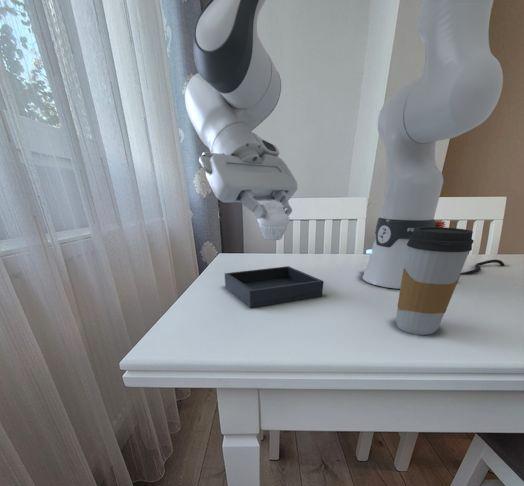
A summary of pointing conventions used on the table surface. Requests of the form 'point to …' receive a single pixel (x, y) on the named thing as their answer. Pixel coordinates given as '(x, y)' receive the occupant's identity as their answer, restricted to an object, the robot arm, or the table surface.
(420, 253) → the coffee cup
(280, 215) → the muffin
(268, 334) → the table surface
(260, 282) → the tray
